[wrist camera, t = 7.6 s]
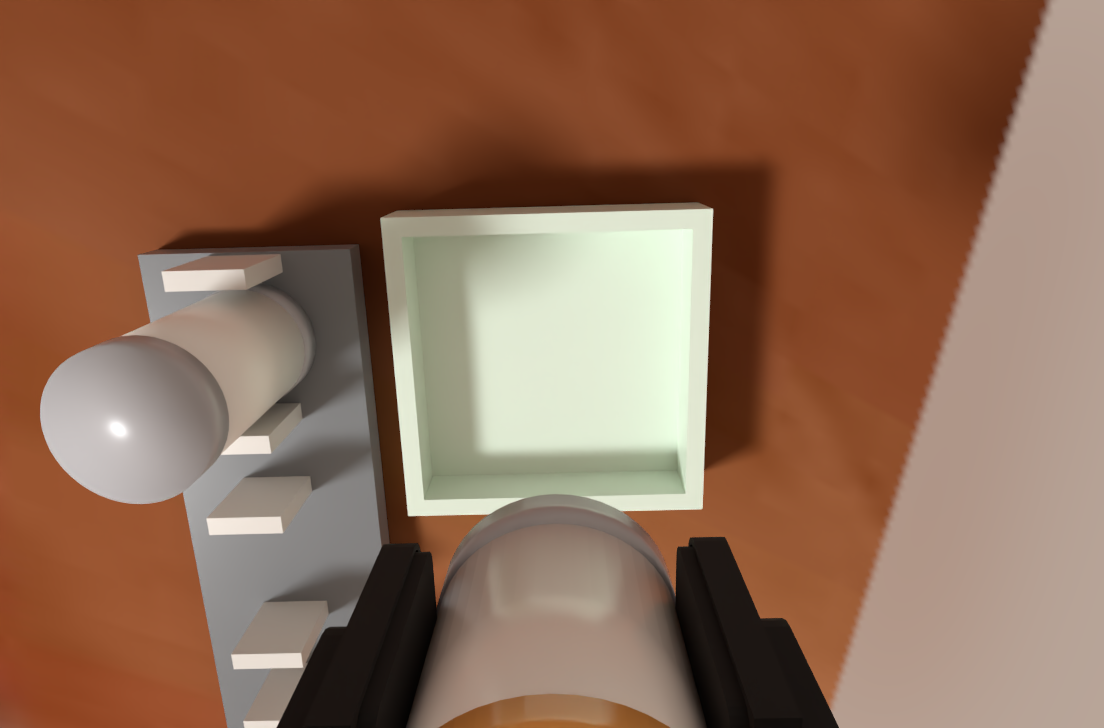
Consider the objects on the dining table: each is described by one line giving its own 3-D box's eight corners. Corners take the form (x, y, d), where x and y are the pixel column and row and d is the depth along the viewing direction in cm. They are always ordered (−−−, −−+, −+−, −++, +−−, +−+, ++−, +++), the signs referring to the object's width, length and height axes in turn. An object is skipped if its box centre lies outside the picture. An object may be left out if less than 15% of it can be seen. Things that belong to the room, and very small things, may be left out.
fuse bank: (156, 249, 25) (-55, 307, 17) (358, 244, 25) (255, 299, 17) (249, 760, 32) (133, 998, 23) (411, 757, 32) (356, 994, 23)
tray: (397, 210, 25) (380, 218, 23) (697, 202, 25) (713, 208, 22) (420, 483, 28) (408, 516, 26) (689, 477, 28) (702, 509, 25)
